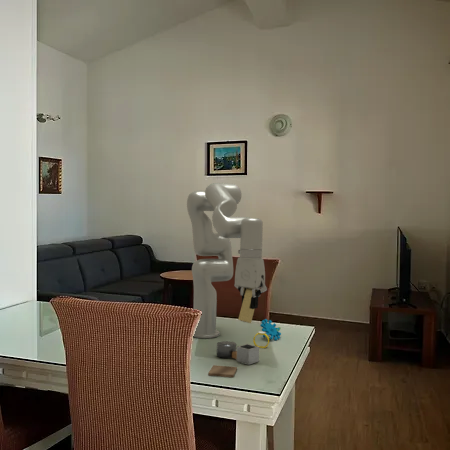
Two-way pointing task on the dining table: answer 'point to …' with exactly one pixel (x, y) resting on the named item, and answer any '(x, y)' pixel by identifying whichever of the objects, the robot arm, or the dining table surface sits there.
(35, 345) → the dining table surface
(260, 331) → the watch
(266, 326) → the gear
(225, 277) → the robot arm
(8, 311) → the dining table surface
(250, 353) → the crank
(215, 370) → the board
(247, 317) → the tan wooden bar
